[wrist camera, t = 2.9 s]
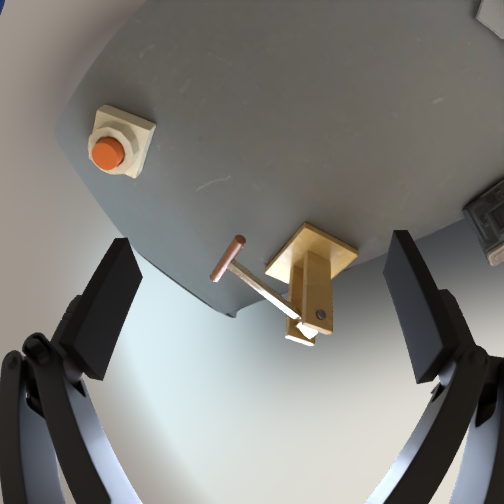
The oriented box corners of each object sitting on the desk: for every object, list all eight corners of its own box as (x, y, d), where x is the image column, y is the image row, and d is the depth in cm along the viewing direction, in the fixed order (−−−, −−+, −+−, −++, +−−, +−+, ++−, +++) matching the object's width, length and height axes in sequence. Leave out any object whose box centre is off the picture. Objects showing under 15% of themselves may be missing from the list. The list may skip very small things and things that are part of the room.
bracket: (265, 268, 51) (254, 341, 42) (304, 221, 43) (302, 301, 33) (314, 289, 54) (312, 359, 44) (357, 249, 45) (366, 326, 36)
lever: (214, 270, 44) (206, 279, 42) (240, 230, 38) (231, 240, 36) (301, 336, 44) (295, 348, 42) (339, 308, 38) (335, 321, 36)
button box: (96, 151, 38) (81, 165, 35) (105, 103, 33) (89, 115, 30) (142, 170, 40) (130, 186, 37) (156, 123, 35) (143, 136, 32)
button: (96, 157, 35) (89, 163, 34) (100, 132, 32) (93, 138, 31) (121, 167, 36) (115, 174, 35) (127, 143, 33) (120, 149, 32)
